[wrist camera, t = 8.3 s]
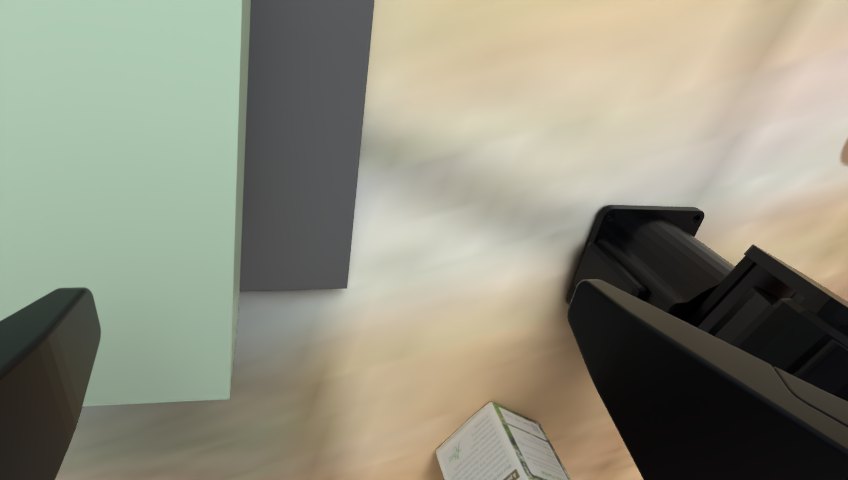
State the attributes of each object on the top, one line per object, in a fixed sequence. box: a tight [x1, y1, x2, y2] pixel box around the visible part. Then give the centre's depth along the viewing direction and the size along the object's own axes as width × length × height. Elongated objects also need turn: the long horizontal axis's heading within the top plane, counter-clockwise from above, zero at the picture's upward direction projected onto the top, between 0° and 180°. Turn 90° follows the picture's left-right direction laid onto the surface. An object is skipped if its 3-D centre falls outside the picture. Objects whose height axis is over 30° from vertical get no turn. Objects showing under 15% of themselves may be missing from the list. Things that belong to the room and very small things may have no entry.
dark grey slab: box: [239, 0, 374, 291], centre depth 14 cm, size 14×18×4 cm
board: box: [0, 0, 251, 407], centre depth 11 cm, size 14×6×4 cm, turn 167°
